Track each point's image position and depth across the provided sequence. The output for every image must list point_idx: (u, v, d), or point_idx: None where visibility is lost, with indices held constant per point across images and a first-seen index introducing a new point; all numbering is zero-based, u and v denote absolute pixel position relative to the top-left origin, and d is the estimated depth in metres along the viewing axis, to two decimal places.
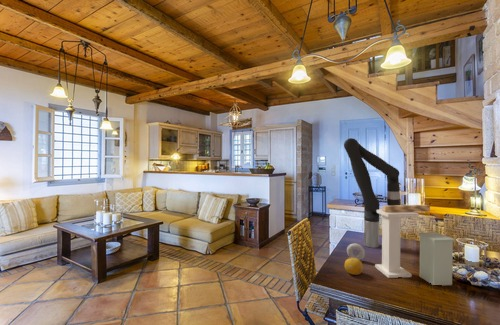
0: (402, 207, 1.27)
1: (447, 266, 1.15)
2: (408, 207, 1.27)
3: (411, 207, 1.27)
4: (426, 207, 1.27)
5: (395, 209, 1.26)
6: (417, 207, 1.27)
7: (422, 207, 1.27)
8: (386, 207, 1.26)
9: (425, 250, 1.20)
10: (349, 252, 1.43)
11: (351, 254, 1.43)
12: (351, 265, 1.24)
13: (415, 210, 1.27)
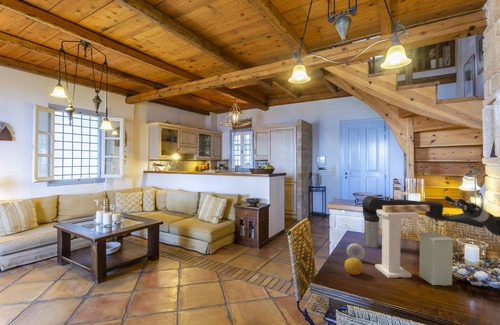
0: (402, 207, 1.27)
1: (447, 266, 1.15)
2: (408, 207, 1.27)
3: (411, 207, 1.27)
4: (426, 207, 1.27)
5: (395, 209, 1.26)
6: (417, 207, 1.27)
7: (422, 207, 1.27)
8: (386, 207, 1.26)
9: (425, 250, 1.20)
10: (349, 252, 1.43)
11: (351, 254, 1.43)
12: (351, 265, 1.24)
13: (415, 210, 1.27)
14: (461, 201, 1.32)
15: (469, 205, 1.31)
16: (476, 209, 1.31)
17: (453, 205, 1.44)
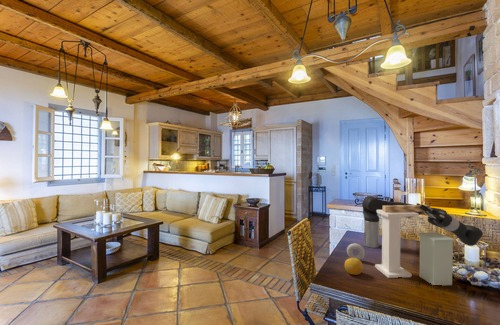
0: (402, 207, 1.27)
1: (447, 266, 1.15)
2: (408, 207, 1.27)
3: (411, 207, 1.27)
4: None
5: (395, 209, 1.26)
6: (417, 207, 1.27)
7: None
8: (386, 207, 1.26)
9: (425, 250, 1.20)
10: (349, 252, 1.43)
11: (351, 254, 1.43)
12: (351, 265, 1.24)
13: (415, 210, 1.27)
14: (423, 207, 1.26)
15: (431, 211, 1.25)
16: (440, 216, 1.23)
17: (422, 212, 1.34)
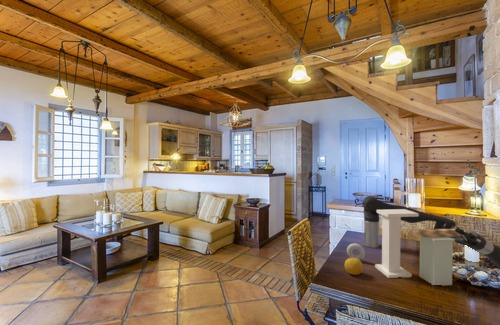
0: (432, 232, 1.17)
1: (447, 266, 1.15)
2: (439, 232, 1.18)
3: (442, 232, 1.18)
4: None
5: (425, 234, 1.17)
6: (448, 231, 1.18)
7: (454, 232, 1.18)
8: (415, 232, 1.17)
9: (425, 250, 1.20)
10: (349, 252, 1.43)
11: (351, 254, 1.43)
12: (351, 265, 1.24)
13: (446, 235, 1.18)
14: (458, 230, 1.15)
15: (468, 235, 1.14)
16: (477, 240, 1.13)
17: None
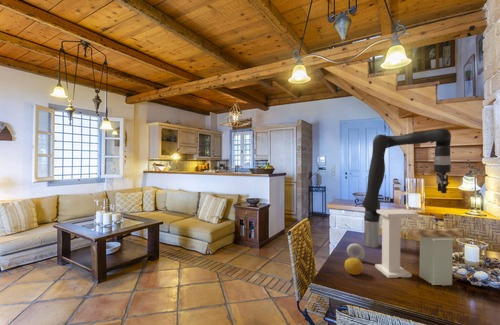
0: (432, 232, 1.17)
1: (447, 266, 1.15)
2: (439, 232, 1.18)
3: (442, 232, 1.18)
4: (458, 232, 1.18)
5: (425, 234, 1.17)
6: (448, 231, 1.18)
7: (454, 232, 1.18)
8: (415, 232, 1.17)
9: (425, 250, 1.20)
10: (349, 252, 1.43)
11: (351, 254, 1.43)
12: (351, 265, 1.24)
13: (446, 235, 1.18)
14: (444, 191, 1.35)
15: (445, 185, 1.34)
16: (446, 177, 1.33)
17: None
